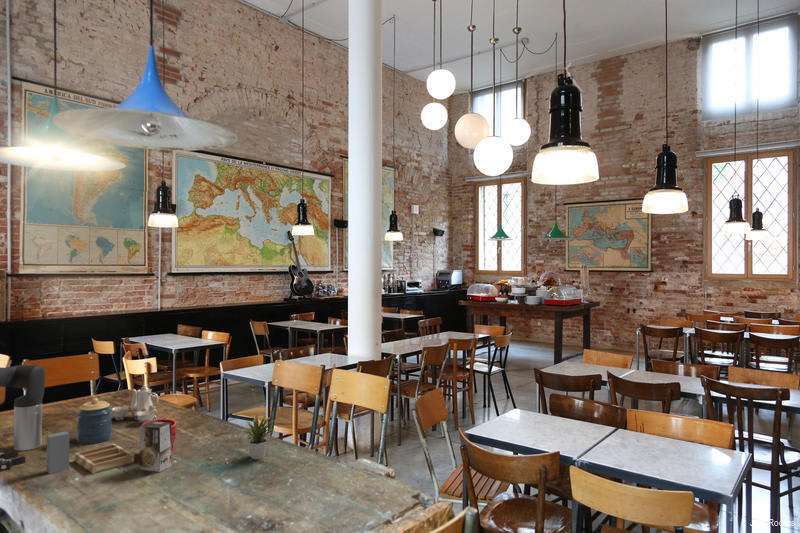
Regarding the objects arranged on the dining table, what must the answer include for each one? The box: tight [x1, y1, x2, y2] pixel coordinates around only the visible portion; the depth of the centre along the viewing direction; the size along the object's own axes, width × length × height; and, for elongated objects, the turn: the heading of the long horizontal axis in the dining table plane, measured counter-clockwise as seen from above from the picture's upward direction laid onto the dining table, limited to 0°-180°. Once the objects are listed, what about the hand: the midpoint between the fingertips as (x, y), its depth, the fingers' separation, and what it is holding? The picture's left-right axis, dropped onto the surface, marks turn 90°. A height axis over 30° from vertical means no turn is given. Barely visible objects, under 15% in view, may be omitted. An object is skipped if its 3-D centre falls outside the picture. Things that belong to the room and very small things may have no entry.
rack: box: [74, 443, 135, 475], centre depth 193 cm, size 18×14×3 cm
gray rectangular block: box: [46, 431, 70, 475], centre depth 185 cm, size 4×6×13 cm, turn 140°
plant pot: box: [141, 418, 178, 453], centre depth 201 cm, size 13×13×12 cm
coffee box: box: [139, 421, 172, 473], centre depth 188 cm, size 9×6×16 cm
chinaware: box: [110, 384, 159, 424], centre depth 245 cm, size 28×17×17 cm, turn 73°
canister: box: [75, 397, 113, 445], centre depth 217 cm, size 13×13×18 cm
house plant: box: [241, 414, 277, 460], centre depth 198 cm, size 14×14×16 cm
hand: (21, 456), depth 176 cm, fingers open, 8 cm apart
